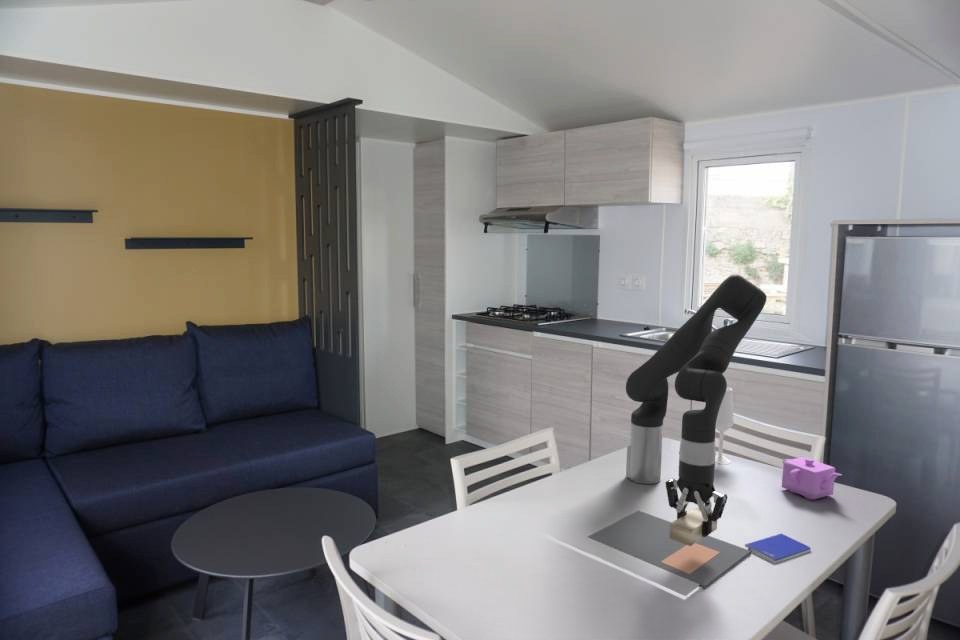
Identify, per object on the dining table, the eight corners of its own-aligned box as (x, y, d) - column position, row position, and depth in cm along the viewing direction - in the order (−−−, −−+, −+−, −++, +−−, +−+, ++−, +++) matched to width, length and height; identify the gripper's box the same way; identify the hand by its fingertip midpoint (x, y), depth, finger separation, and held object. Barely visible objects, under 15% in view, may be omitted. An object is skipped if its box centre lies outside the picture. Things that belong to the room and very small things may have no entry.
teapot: (853, 501, 179) (857, 466, 178) (821, 511, 173) (824, 475, 172) (795, 479, 195) (798, 447, 194) (764, 488, 189) (766, 454, 187)
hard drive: (775, 559, 145) (811, 547, 151) (744, 543, 152) (780, 532, 158) (774, 565, 145) (810, 553, 151) (744, 549, 152) (779, 538, 158)
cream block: (696, 522, 151) (696, 507, 151) (716, 529, 148) (717, 514, 147) (669, 538, 143) (670, 523, 143) (690, 546, 140) (691, 530, 139)
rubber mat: (587, 539, 156) (587, 536, 156) (638, 512, 171) (638, 510, 171) (704, 588, 135) (704, 585, 134) (750, 553, 150) (751, 550, 150)
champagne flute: (708, 462, 209) (712, 389, 206) (709, 456, 215) (713, 385, 212) (730, 465, 207) (735, 391, 203) (731, 458, 213) (735, 387, 210)
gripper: (736, 462, 141) (732, 536, 143) (676, 446, 151) (673, 516, 153) (720, 470, 136) (716, 548, 138) (659, 454, 146) (656, 526, 148)
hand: (693, 531), depth 145 cm, fingers closed on cream block, 5 cm apart
